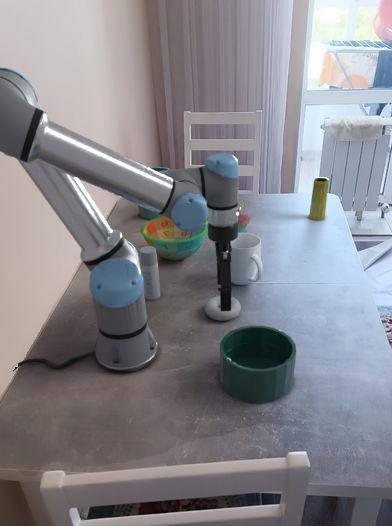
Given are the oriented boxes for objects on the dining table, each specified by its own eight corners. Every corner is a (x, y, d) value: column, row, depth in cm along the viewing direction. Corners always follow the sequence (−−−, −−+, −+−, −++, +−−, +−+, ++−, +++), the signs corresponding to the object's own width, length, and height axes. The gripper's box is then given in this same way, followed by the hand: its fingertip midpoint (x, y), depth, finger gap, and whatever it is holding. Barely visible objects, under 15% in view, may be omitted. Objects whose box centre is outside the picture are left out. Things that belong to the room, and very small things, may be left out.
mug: (275, 287, 144) (278, 246, 136) (245, 298, 139) (247, 257, 131) (244, 268, 154) (245, 229, 146) (216, 278, 149) (215, 238, 141)
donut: (198, 318, 132) (231, 326, 128) (197, 307, 130) (231, 315, 126) (215, 300, 139) (246, 308, 135) (214, 290, 137) (247, 297, 133)
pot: (248, 413, 102) (249, 381, 97) (206, 371, 114) (205, 341, 108) (307, 384, 109) (312, 353, 103) (262, 347, 120) (264, 317, 115)
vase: (326, 220, 182) (331, 182, 173) (310, 220, 182) (314, 182, 173) (323, 213, 186) (328, 176, 178) (307, 214, 187) (311, 177, 178)
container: (145, 301, 140) (139, 254, 130) (144, 293, 143) (138, 246, 134) (161, 299, 140) (157, 252, 131) (159, 291, 144) (155, 245, 135)
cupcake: (253, 229, 177) (254, 197, 170) (242, 238, 172) (243, 205, 164) (233, 225, 181) (233, 193, 174) (221, 233, 175) (221, 201, 168)
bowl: (171, 278, 150) (169, 249, 144) (130, 255, 163) (126, 227, 157) (223, 255, 161) (223, 227, 155) (180, 235, 175) (179, 209, 169)
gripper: (243, 243, 107) (242, 321, 120) (233, 202, 127) (233, 273, 140) (210, 245, 107) (212, 323, 120) (205, 204, 127) (207, 275, 140)
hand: (223, 296), depth 130 cm, fingers open, 13 cm apart
